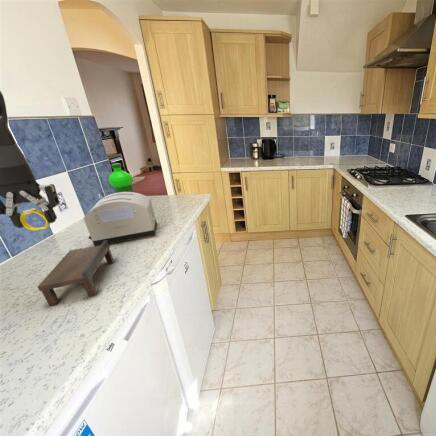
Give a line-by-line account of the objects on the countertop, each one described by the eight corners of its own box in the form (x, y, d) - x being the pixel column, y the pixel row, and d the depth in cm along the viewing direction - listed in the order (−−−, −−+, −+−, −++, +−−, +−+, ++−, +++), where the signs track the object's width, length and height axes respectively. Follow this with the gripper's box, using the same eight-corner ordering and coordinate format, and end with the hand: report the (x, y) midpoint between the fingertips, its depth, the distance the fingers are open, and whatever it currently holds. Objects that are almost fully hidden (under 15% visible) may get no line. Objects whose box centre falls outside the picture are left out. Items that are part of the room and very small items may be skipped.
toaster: (91, 249, 94) (73, 207, 87) (106, 225, 115) (93, 190, 108) (157, 236, 103) (146, 197, 96) (160, 216, 124) (151, 183, 117)
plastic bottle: (141, 204, 141) (128, 161, 131) (139, 210, 132) (125, 164, 122) (121, 207, 137) (106, 163, 127) (117, 213, 128) (101, 166, 118)
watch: (55, 225, 70) (46, 206, 67) (49, 230, 67) (39, 210, 65) (31, 228, 69) (20, 209, 66) (24, 233, 66) (12, 213, 64)
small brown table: (48, 306, 66) (34, 282, 63) (77, 267, 83) (68, 246, 80) (96, 295, 69) (85, 272, 66) (114, 260, 87) (107, 239, 83)
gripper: (49, 158, 66) (74, 215, 73) (-21, 164, 62) (12, 224, 68) (34, 163, 60) (63, 224, 66) (-46, 170, 55) (-6, 235, 62)
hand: (37, 224), depth 67 cm, fingers closed on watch, 6 cm apart
